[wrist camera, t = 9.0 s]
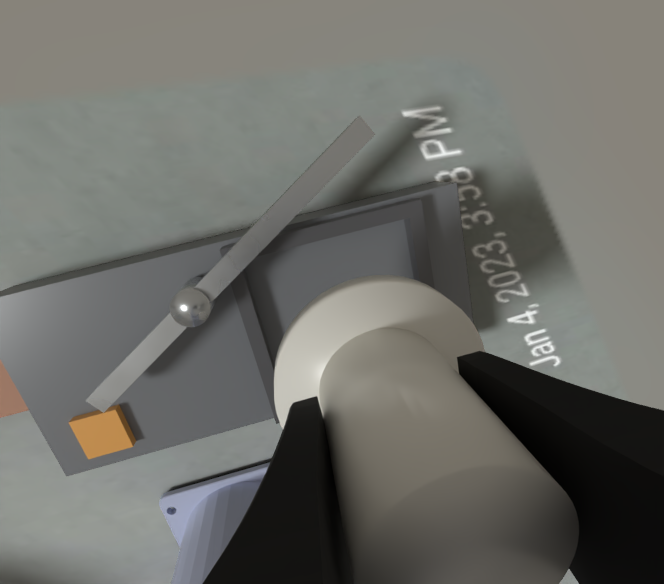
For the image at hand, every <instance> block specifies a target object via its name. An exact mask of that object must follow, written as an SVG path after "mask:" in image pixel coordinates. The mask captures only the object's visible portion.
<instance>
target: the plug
mask: <svg viewBox="0 0 664 584" xmlns="http://www.w3.org/2000/svg"><path fill="white" fill-rule="evenodd" d="M477 351H482V352H485V350H484V347H483V343H482V340H481V338H480V335H479V333H478V331H477V329H476V327H475V326H474V324H473V323H472V321H471V320H470V318H469V317H468V316H467V315H466V314H465V313H464V312H463V311H462V309H460V308H459V307H458V306H457V305H455V304H454V303H453V302H452V301H450V300H449V299H448V298H446V297H445V296H444V295H442V294H441V293H440V292H438V291H437V290H435V289H433V288H432V287H430V286H428V285H427V284H424V283H422V282H419V281H417V280H414V279H410V278H406V277H403V276H394V275H372V276H365V277H359V278H356V279H352V280H348V281H346V282H343V283H341V284H338V285H336V286H334V287H332V288H330V289H328V290H327V291H325V292H323V293H321V294H320V295H319V296H317V297H316V298H315V299H313V300H312V301H311V302H309V303H308V304H307V305H306V306H305V307H304V308H303V309H302V310H301V311H300V312H299V314H298V315H297V316H296V317H295V319H294V320H293V321H292V322H291V324H290V325H289V327H288V329H287V330H286V332H285V334H284V336H283V338H282V341H281V343H280V345H279V348H278V352H277V356H276V360H275V368H274V402H275V408H276V413H277V416H278V419H279V422H280V425H281V427H282V429H284V426H285V423H286V419H287V416H288V413H289V409H290V407H291V405H292V404H293V403H294V402H297V401H301V400H304V399H308V398H312V397H315V396H317V398H318V401H319V405H320V408H321V412H322V415H323V419H324V425H325V430H326V435H327V440H328V446H329V452H330V458H331V464H332V470H333V475H334V481H335V486H336V491H337V497H338V502H339V507H340V513H341V518H342V524H343V529H344V534H345V540H346V545H347V550H348V556H349V561H350V566H351V572H352V577H353V582H354V584H559V583H560V581H561V580H562V579H563V577H564V575H565V574H566V572H567V570H568V569H569V567H570V565H571V562H572V560H573V558H574V555H575V552H576V548H577V545H578V538H579V521H578V517H577V512H576V509H575V507H574V505H573V502H572V500H571V499H570V498H569V496H568V495H567V493H566V492H565V491H564V490H563V488H562V487H561V486H560V485H559V484H558V483H557V482H556V481H555V480H554V478H553V477H552V476H551V475H550V474H549V473H548V472H547V471H546V470H545V469H544V467H543V466H542V465H541V464H540V463H539V462H538V461H537V460H536V459H535V457H534V456H533V455H532V454H531V453H530V452H529V451H528V450H527V449H526V447H525V446H524V445H523V444H522V443H521V442H520V441H519V440H518V439H517V437H516V436H515V435H514V434H513V433H512V432H511V431H510V430H509V429H508V427H507V426H506V425H505V424H504V423H503V422H502V421H501V420H500V419H499V418H498V416H497V415H496V414H495V413H494V412H493V411H492V410H491V409H490V408H489V406H488V405H487V404H486V403H485V402H484V401H483V400H482V399H481V398H480V396H479V395H478V394H477V393H476V392H475V391H474V390H473V389H472V388H471V386H470V385H469V384H468V383H467V382H466V381H465V380H464V379H463V378H462V377H461V375H460V374H459V370H458V362H457V357H459V356H463V355H466V354H470V353H474V352H477Z"/></svg>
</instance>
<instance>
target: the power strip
mask: <svg viewBox="0 0 664 584" xmlns="http://www.w3.org/2000/svg"><path fill="white" fill-rule="evenodd" d="M250 228H251V227H250ZM250 228H246V229H242V230H238V231H234V232H230V233H226V234H222V235H218V236H214V237H210V238H206V239H202V240H198V241H194V242H190V243H186V244H182V245H178V246H174V247H170V248H166V249H162V250H158V251H154V252H149V253H145V254H141V255H137V256H133V257H129V258H125V259H121V260H117V261H113V262H109V263H105V264H101V265H97V266H93V267H89V268H85V269H81V270H77V271H73V272H69V273H65V274H61V275H57V276H53V277H49V278H45V279H41V280H37V281H33V282H29V283H25V284H21V285H17V286H13V287H10V288H7V289H5V290H3V291H0V360H1V362H2V363H3V365H4V367H5V369H6V370H7V372H8V374H9V376H10V377H11V379H12V381H13V383H14V384H15V386H16V388H17V390H18V392H19V393H20V395H21V397H22V399H23V400H24V402H25V404H26V406H27V407H28V409H29V411H30V413H31V414H32V416H33V418H34V420H35V422H36V423H37V425H38V427H39V429H40V430H41V432H42V434H43V436H44V437H45V439H46V441H47V443H48V444H49V446H50V448H51V450H52V452H53V453H54V455H55V457H56V459H57V460H58V462H59V464H60V466H61V467H62V469H63V471H64V473H65V474H66V476H70V475H73V474H77V473H80V472H84V471H87V470H91V469H94V468H98V467H102V466H105V465H109V464H112V463H116V462H119V461H123V460H126V459H130V458H133V457H137V456H140V455H144V454H148V453H151V452H155V451H158V450H162V449H165V448H169V447H172V446H176V445H179V444H183V443H186V442H190V441H194V440H197V439H201V438H204V437H208V436H211V435H215V434H218V433H222V432H225V431H229V430H233V429H236V428H240V427H243V426H247V425H250V424H254V423H257V422H261V421H264V420H268V419H271V418H275V421H276V424H277V423H280V422H279V419H278V416H277V413H276V408H275V402H274V368H275V360H276V356H277V352H278V348H279V345H280V343H281V341H282V338H283V336H284V334H285V332H286V330H287V329H288V327H289V325H290V324H291V322H292V321H293V320H294V319H295V317H296V316H297V315H298V314H299V312H300V311H301V310H302V309H303V308H304V307H305V306H306V305H307V304H308V303H309V302H311V301H312V300H313V299H315V298H316V297H317V296H319V295H320V294H321V293H323V292H325V291H327V290H328V289H330V288H332V287H334V286H336V285H338V284H341V283H343V282H346V281H348V280H352V279H356V278H359V277H365V276H372V275H394V276H403V277H406V278H410V279H414V280H417V281H419V282H422V283H424V284H427V285H428V286H430V287H432V288H433V289H435V290H437V291H438V292H440V293H441V294H442V295H444V296H445V297H446V298H448V299H449V300H450V301H452V302H453V303H454V304H455V305H457V306H458V307H459V308H460V309H462V311H463V312H464V313H465V314H466V315H467V316H468V317H469V318H470V320H471V321H472V323H473V324H474V322H473V314H472V306H471V297H470V289H469V281H468V272H467V264H466V256H465V247H464V239H463V230H462V222H461V214H460V205H459V197H458V189H457V183H451V182H431V183H427V184H423V185H419V186H415V187H411V188H407V189H403V190H399V191H395V192H391V193H387V194H383V195H379V196H375V197H371V198H367V199H362V200H358V201H354V202H350V203H346V204H342V205H338V206H334V207H330V208H326V209H322V210H318V211H314V212H310V213H306V214H302V215H298V216H295V217H294V218H293V219H292V220H291V221H290V222H289V223H288V224H287V225H286V226H285V227H284V228H283V229H282V230H281V232H280V233H279V234H278V235H277V236H276V237H275V238H274V239H273V240H272V241H271V242H270V243H269V244H268V245H267V246H266V247H265V248H264V249H263V250H262V251H261V252H260V253H259V254H258V255H257V256H256V257H255V258H254V259H253V260H252V261H251V262H250V263H249V264H248V265H247V266H246V267H245V268H244V269H243V271H242V272H241V273H240V274H239V275H238V276H237V277H236V278H235V279H234V280H233V281H232V282H231V283H230V284H229V285H228V286H227V287H226V288H225V289H224V290H223V291H222V292H221V293H220V294H219V295H218V297H217V300H216V302H215V304H214V306H213V308H212V310H211V312H210V315H209V317H208V318H207V320H206V321H205V322H204V323H203V324H201V325H199V326H196V327H187V328H186V329H185V330H184V331H183V332H182V333H181V334H180V335H179V336H178V337H177V338H176V339H175V340H174V341H173V342H172V343H171V344H170V345H169V346H168V347H167V348H166V349H165V351H164V352H163V353H162V354H161V355H160V356H159V357H158V358H157V359H156V360H155V361H154V362H153V363H152V364H151V365H150V366H149V367H148V368H147V369H146V370H145V371H144V372H143V373H142V374H141V375H140V376H139V377H138V378H137V379H136V380H135V381H134V382H133V383H132V384H131V385H130V386H129V387H128V388H127V389H126V391H125V392H124V393H123V394H122V395H121V396H120V397H119V398H118V399H117V400H116V401H115V402H114V403H113V404H112V405H111V406H110V407H109V408H108V409H107V410H106V411H105V412H104V413H103V412H102V411H100V410H99V409H97V408H95V407H94V406H92V405H91V404H89V403H88V402H86V400H87V398H88V397H89V396H90V395H91V394H92V393H93V391H94V390H95V389H96V388H97V387H98V386H99V385H100V384H101V383H102V382H103V381H104V380H105V379H106V378H107V377H108V376H109V375H110V373H111V372H112V371H113V370H114V369H115V368H116V367H117V366H118V365H119V364H120V363H121V362H122V361H123V360H124V359H125V358H126V357H127V356H128V355H129V354H130V353H131V352H132V351H133V350H134V349H135V347H136V346H137V345H138V344H139V343H140V342H141V341H142V340H143V339H144V338H145V337H146V336H147V335H148V334H149V333H150V332H151V331H152V330H153V329H154V328H155V327H156V326H157V325H158V324H159V323H160V321H161V320H162V319H163V318H164V317H165V316H166V315H167V314H168V313H169V312H170V303H171V300H172V299H173V297H174V296H175V295H176V294H177V293H178V291H179V290H180V289H181V288H182V287H183V285H184V284H185V283H186V282H187V281H188V280H189V279H191V278H194V277H204V276H205V275H206V274H207V273H208V272H209V271H210V270H211V268H212V267H213V266H214V265H215V264H216V263H217V262H218V261H219V260H220V259H221V258H222V257H223V256H224V255H225V254H226V253H227V252H228V251H229V250H230V249H231V248H232V247H233V246H234V245H235V244H236V242H237V241H238V240H239V239H240V238H241V237H242V236H243V235H244V234H245V233H246V232H247V231H248V230H249V229H250Z"/></svg>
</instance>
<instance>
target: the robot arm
mask: <svg viewBox="0 0 664 584" xmlns="http://www.w3.org/2000/svg"><path fill="white" fill-rule="evenodd" d="M457 362H458V370H459V374H460V375H461V377H462V378H463V379H464V380H465V381H466V382H467V383H468V384H469V385H470V386H471V388H472V389H473V390H474V391H475V392H476V393H477V394H478V395H479V396H480V398H481V399H482V400H483V401H484V402H485V403H486V404H487V405H488V406H489V408H490V409H491V410H492V411H493V412H494V413H495V414H496V415H497V416H498V418H499V419H500V420H501V421H502V422H503V423H504V424H505V425H506V426H507V427H508V429H509V430H510V431H511V432H512V433H513V434H514V435H515V436H516V437H517V439H518V440H519V441H520V442H521V443H522V444H523V445H524V446H525V447H526V449H527V450H528V451H529V452H530V453H531V454H532V455H533V456H534V457H535V459H536V460H537V461H538V462H539V463H540V464H541V465H542V466H543V467H544V469H545V470H546V471H547V472H548V473H549V474H550V475H551V476H552V477H553V478H554V480H555V481H556V482H557V483H558V484H559V485H560V486H561V487H562V488H563V490H564V491H565V492H566V493H567V495H568V496H569V498H570V499H571V500H572V502H573V505H574V507H575V509H576V512H577V517H578V521H579V538H578V545H577V548H576V552H575V555H574V558H573V560H572V562H571V565H570V567H569V569H570V570H571V572H572V573H573V575H574V576H575V578H576V579H577V581H578V583H579V584H664V411H663V410H659V409H655V408H651V407H647V406H643V405H639V404H636V403H632V402H628V401H625V400H621V399H618V398H614V397H611V396H608V395H605V394H602V393H598V392H595V391H592V390H589V389H586V388H583V387H580V386H577V385H574V384H571V383H568V382H565V381H562V380H559V379H556V378H554V377H551V376H548V375H545V374H543V373H540V372H537V371H534V370H532V369H529V368H526V367H524V366H521V365H519V364H516V363H513V362H511V361H508V360H505V359H503V358H500V357H497V356H494V355H492V354H489V353H485V352H482V351H477V352H474V353H470V354H466V355H463V356H459V357H457ZM159 506H160V508H161V510H162V512H163V514H164V516H165V518H166V520H167V522H168V524H169V526H170V529H171V531H172V533H173V535H174V537H175V539H176V541H177V543H178V545H179V547H180V551H179V555H178V559H177V562H176V566H175V570H174V574H173V578H172V582H171V584H354V582H353V577H352V572H351V566H350V561H349V556H348V550H347V545H346V540H345V534H344V529H343V524H342V518H341V513H340V507H339V502H338V497H337V491H336V486H335V481H334V475H333V470H332V464H331V458H330V452H329V446H328V440H327V435H326V430H325V425H324V419H323V415H322V412H321V408H320V405H319V401H318V398H317V396H315V397H312V398H308V399H304V400H301V401H297V402H294V403H293V404H292V405H291V407H290V409H289V413H288V416H287V419H286V423H285V426H284V429H283V431H282V434H281V437H280V440H279V442H278V445H277V447H276V450H275V452H274V454H273V457H272V459H271V462H269V463H265V464H262V465H259V466H255V467H252V468H248V469H245V470H241V471H238V472H234V473H231V474H228V475H224V476H221V477H217V478H214V479H210V480H207V481H203V482H200V483H197V484H193V485H190V486H186V487H183V488H179V489H176V490H172V491H169V492H166V493H164V494H163V495H162V496H161V499H160V502H159ZM170 507H174V508H175V509H172V508H170Z"/></svg>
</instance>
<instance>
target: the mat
mask: <svg viewBox="0 0 664 584" xmlns="http://www.w3.org/2000/svg"><path fill="white" fill-rule="evenodd" d="M27 410H29V409H28V407H27V406H26V404H25V402H24V400H23V399H22V397H21V395H20V393H19V392H18V390H17V388H16V386H15V384H14V383H13V381H12V379H11V377H10V376H9V374H8V372H7V370H6V369H5V367H4V365H3V363H2V362H1V360H0V418H1V417H5V416H9V415H12V414H16V413H20V412H23V411H27Z"/></svg>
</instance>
